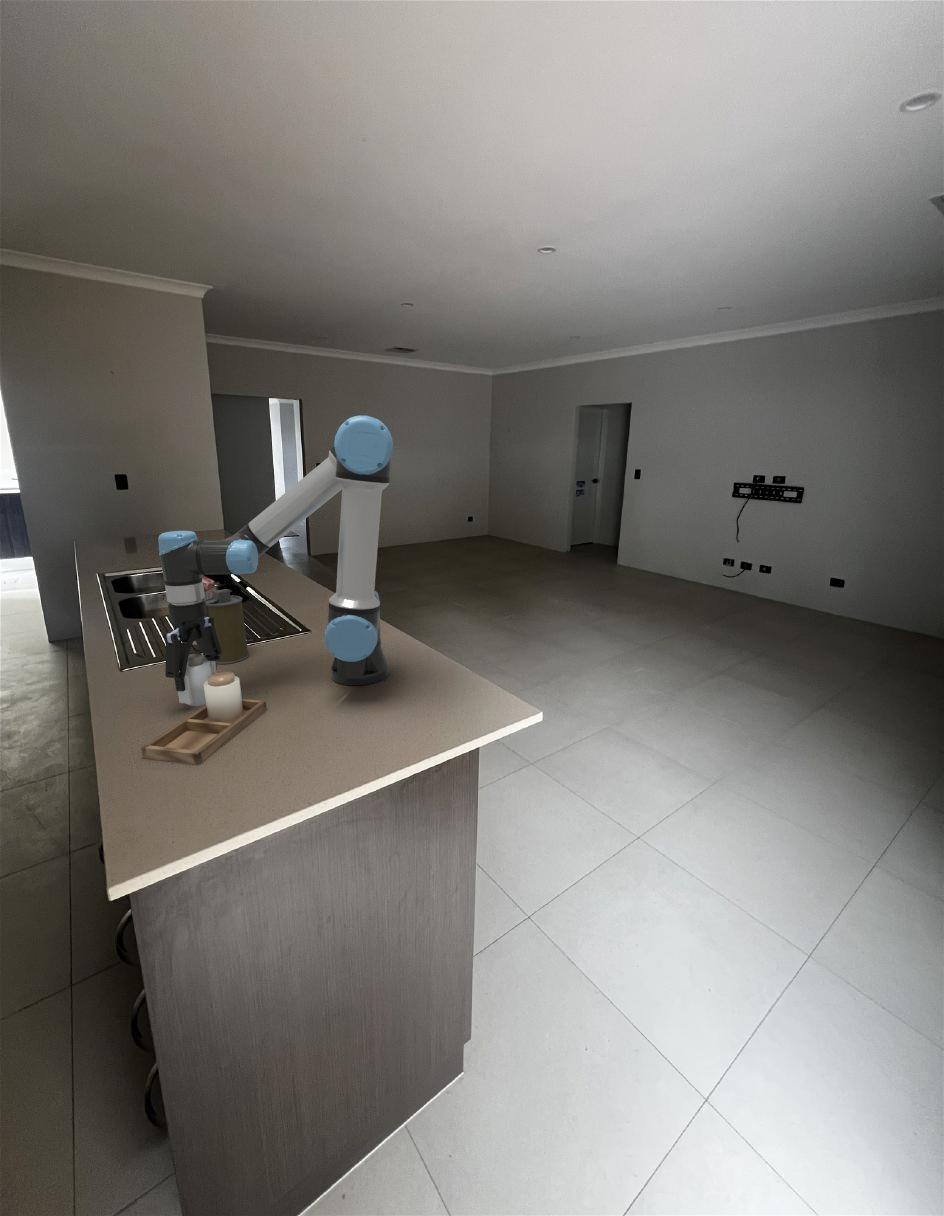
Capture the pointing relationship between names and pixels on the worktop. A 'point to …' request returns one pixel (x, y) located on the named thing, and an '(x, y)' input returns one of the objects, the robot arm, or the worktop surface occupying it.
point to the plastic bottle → (197, 677)
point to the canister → (228, 625)
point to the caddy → (199, 735)
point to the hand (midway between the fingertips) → (199, 694)
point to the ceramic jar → (223, 697)
